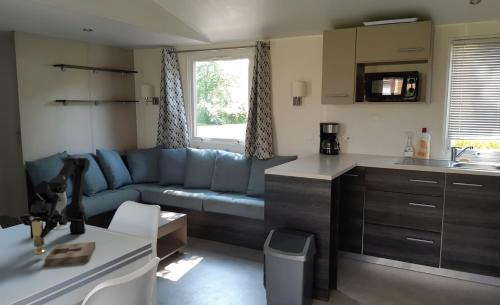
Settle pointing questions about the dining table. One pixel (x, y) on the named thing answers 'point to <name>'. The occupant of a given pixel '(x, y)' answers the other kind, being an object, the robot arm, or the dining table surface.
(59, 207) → the wineglass
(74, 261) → the keyhole board
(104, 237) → the dining table surface
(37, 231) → the peg
